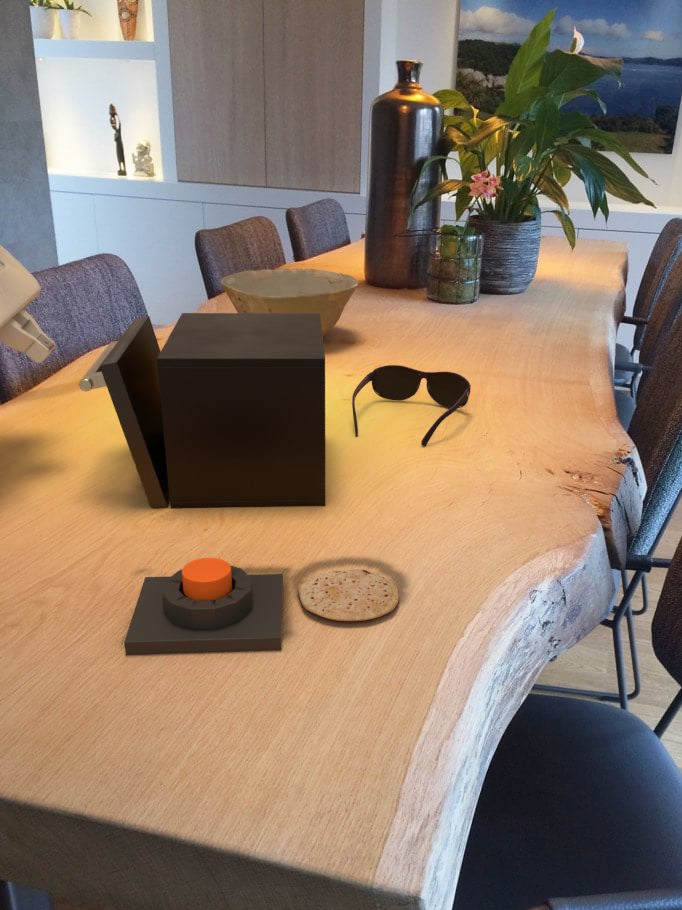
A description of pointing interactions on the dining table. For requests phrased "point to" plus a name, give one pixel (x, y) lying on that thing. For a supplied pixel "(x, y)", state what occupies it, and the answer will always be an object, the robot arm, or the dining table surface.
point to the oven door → (136, 402)
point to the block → (207, 617)
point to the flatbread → (349, 595)
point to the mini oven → (244, 410)
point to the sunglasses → (405, 384)
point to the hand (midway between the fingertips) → (48, 354)
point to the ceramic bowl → (291, 292)
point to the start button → (207, 579)
